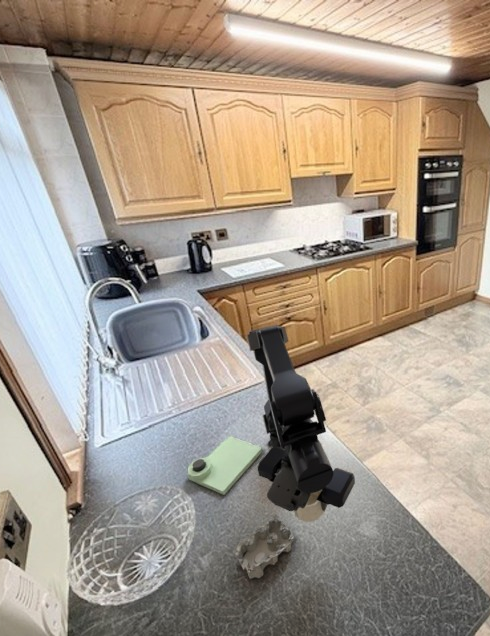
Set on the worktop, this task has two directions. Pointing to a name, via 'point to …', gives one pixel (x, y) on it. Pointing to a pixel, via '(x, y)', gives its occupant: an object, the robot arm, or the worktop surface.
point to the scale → (225, 464)
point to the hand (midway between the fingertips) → (309, 502)
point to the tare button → (198, 465)
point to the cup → (310, 509)
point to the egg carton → (264, 546)
